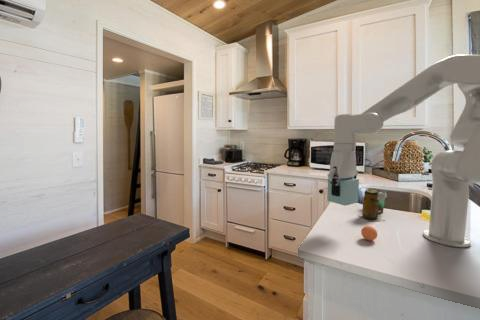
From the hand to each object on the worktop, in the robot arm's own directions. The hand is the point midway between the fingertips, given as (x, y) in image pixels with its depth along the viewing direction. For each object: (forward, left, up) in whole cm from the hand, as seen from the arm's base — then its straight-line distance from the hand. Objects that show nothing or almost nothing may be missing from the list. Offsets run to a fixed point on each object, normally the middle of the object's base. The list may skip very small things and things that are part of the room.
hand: (342, 193), depth 88 cm
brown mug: (-24, -3, -15) cm, 29 cm away
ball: (-2, +10, -12) cm, 16 cm away
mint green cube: (0, 0, -3) cm, 3 cm away
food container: (-36, -7, -15) cm, 40 cm away
